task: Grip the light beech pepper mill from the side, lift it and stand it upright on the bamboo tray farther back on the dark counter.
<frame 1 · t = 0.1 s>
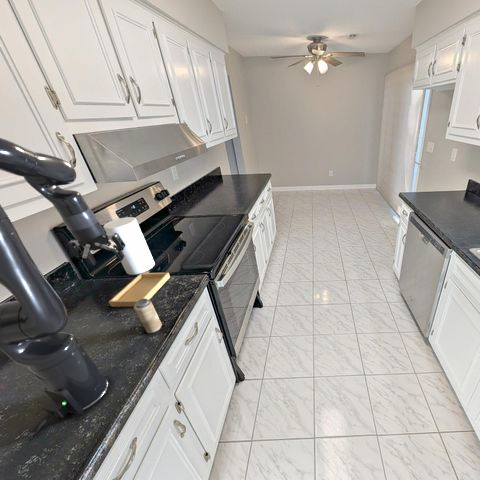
hand: (108, 261, 90), 22 cm above the worktop, tool pointing down, fingers open, 8 cm apart
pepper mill: (154, 327, 91), on the worktop
tray: (143, 290, 111), on the worktop
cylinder: (141, 267, 128), on the worktop
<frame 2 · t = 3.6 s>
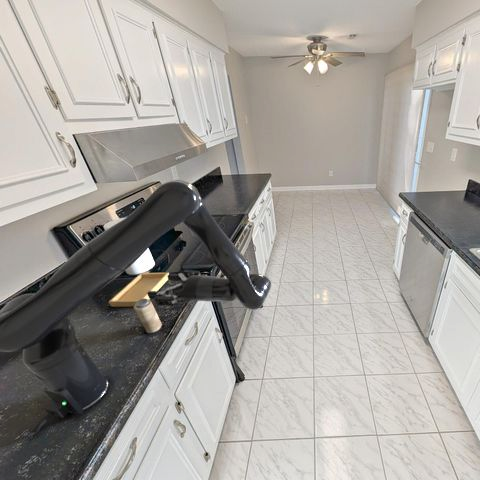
hand: (159, 285, 80), 20 cm above the worktop, tool horizontal, fingers open, 8 cm apart
nothing on the worktop moved.
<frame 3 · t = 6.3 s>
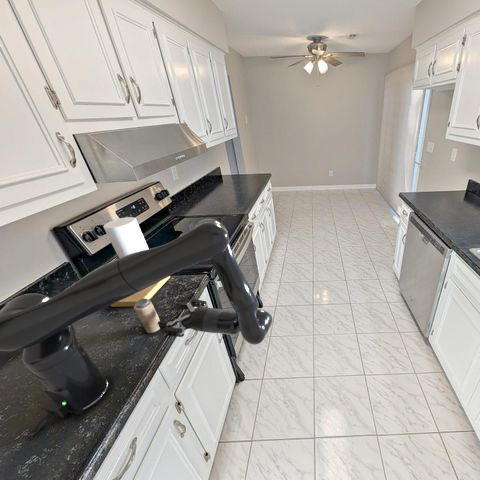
hand: (168, 314, 85), 8 cm above the worktop, tool horizontal, fingers open, 8 cm apart
nothing on the worktop moved.
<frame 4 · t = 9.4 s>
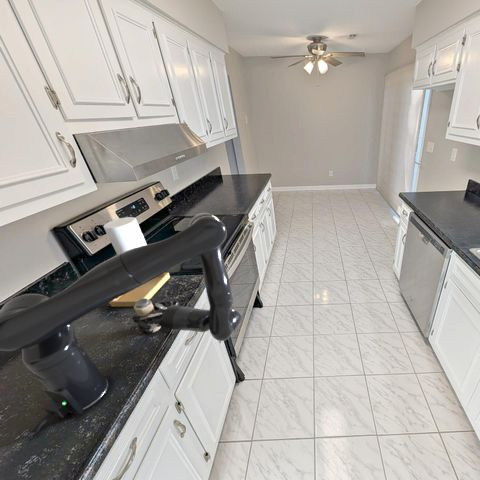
hand: (140, 312, 88), 7 cm above the worktop, tool horizontal, fingers closed on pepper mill, 5 cm apart
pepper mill: (154, 327, 91), on the worktop, touching gripper
everything else where it was.
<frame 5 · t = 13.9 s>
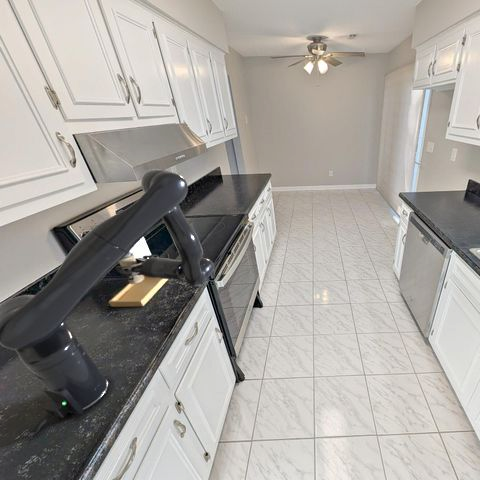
hand: (124, 264, 96), 18 cm above the worktop, tool horizontal, fingers closed on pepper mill, 5 cm apart
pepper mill: (137, 280, 99), point 11 cm above the worktop, touching gripper
everything else where it was.
when the fingers open (8 cm above the worktop, at t = 18.4 s): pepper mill stays where it is, resting on tray.
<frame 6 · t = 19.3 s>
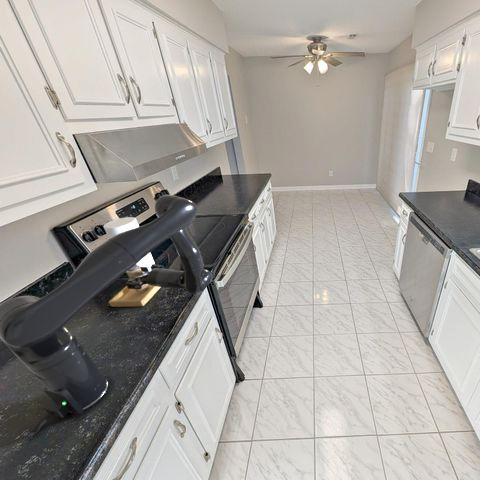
hand: (132, 274, 107), 9 cm above the worktop, tool horizontal, fingers open, 8 cm apart
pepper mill: (142, 289, 111), point 1 cm above the worktop, touching tray
everything else where it was.
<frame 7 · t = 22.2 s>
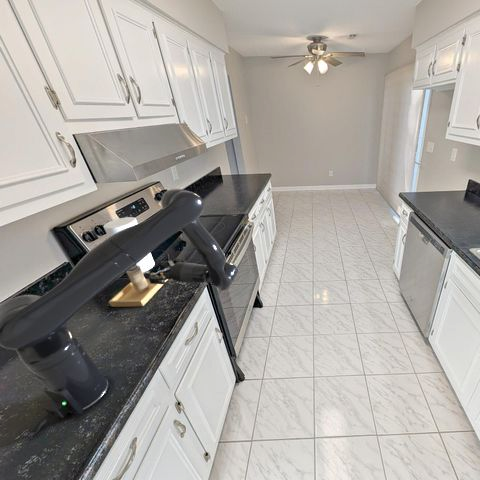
hand: (153, 269, 103), 12 cm above the worktop, tool horizontal, fingers open, 8 cm apart
nothing on the worktop moved.
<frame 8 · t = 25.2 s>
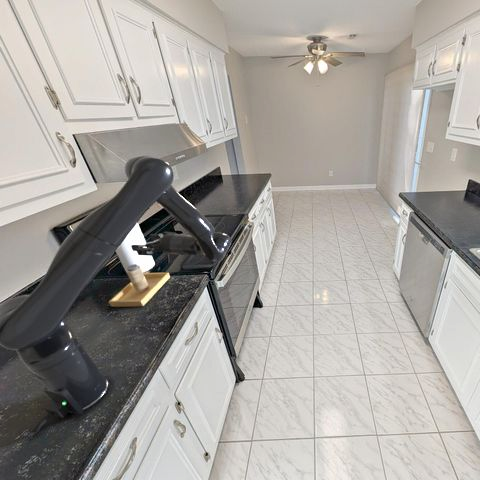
hand: (142, 242, 97), 25 cm above the worktop, tool horizontal, fingers open, 8 cm apart
nothing on the worktop moved.
at the end: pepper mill inside the target area in the tray (0.1 cm from its centre), point 0.6 cm above the tray's base; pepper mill tilted 0°; the gripper is holding nothing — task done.
